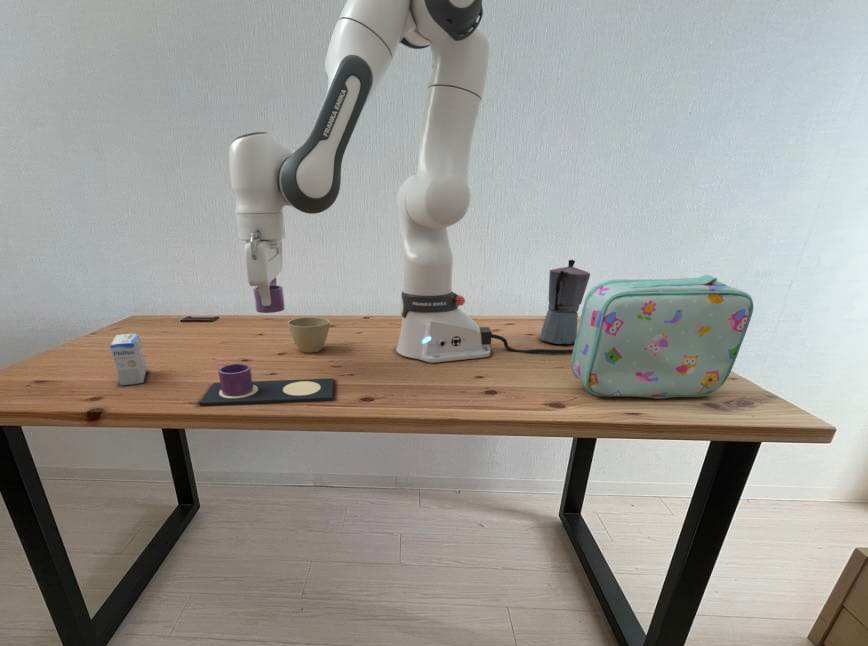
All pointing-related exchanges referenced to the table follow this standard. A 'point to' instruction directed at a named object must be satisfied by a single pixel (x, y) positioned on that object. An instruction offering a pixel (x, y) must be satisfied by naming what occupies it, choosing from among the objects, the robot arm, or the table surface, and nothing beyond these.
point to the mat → (274, 392)
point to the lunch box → (659, 337)
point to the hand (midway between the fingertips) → (269, 301)
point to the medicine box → (128, 359)
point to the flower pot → (309, 333)
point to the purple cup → (276, 299)
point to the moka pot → (564, 304)
